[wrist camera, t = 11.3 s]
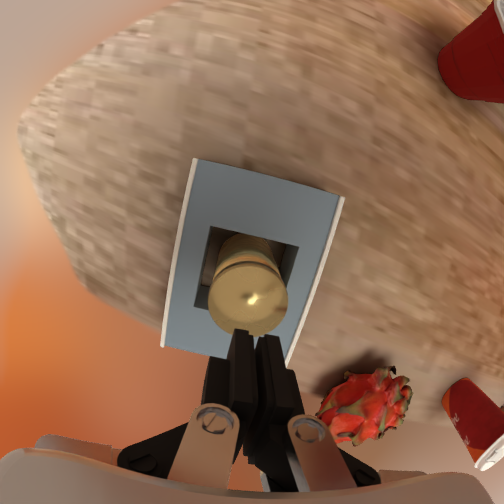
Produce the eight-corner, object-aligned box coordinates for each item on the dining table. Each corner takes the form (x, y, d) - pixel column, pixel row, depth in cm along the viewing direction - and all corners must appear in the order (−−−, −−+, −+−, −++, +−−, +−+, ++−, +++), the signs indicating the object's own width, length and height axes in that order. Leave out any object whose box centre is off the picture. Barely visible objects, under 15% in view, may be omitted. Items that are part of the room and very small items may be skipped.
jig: (202, 159, 21) (193, 157, 17) (326, 191, 22) (345, 197, 18) (171, 319, 25) (160, 346, 21) (278, 342, 26) (284, 371, 22)
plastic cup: (498, 82, 19) (573, 72, 7) (471, 143, 21) (563, 147, 10) (437, 10, 17) (505, -29, 5) (400, 62, 19) (487, 19, 7)
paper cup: (426, 410, 31) (468, 478, 18) (458, 369, 29) (512, 434, 16) (454, 411, 32) (493, 468, 19) (482, 373, 30) (530, 428, 17)
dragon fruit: (396, 346, 29) (312, 396, 33) (384, 341, 23) (277, 401, 26) (428, 407, 24) (338, 453, 27) (426, 421, 18) (308, 473, 21)
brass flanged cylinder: (224, 226, 23) (216, 257, 15) (279, 239, 23) (298, 276, 16) (212, 278, 24) (201, 329, 16) (265, 290, 24) (276, 344, 17)
